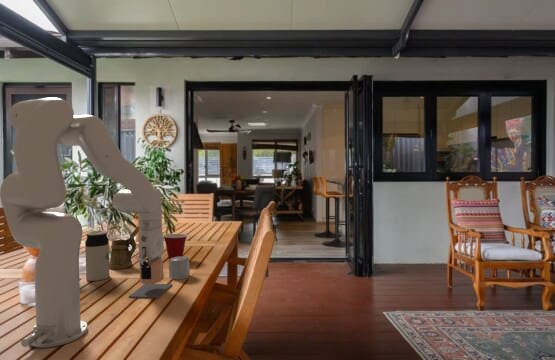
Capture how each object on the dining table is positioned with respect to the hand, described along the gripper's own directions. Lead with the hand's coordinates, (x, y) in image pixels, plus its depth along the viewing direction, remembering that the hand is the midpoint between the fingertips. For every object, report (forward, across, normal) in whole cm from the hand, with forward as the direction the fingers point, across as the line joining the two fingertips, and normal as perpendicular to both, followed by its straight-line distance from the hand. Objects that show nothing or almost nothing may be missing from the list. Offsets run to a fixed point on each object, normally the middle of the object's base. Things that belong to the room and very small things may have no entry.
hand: (151, 274), depth 116 cm
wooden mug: (+6, +27, +24) cm, 37 cm away
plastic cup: (+6, +38, +6) cm, 39 cm away
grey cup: (+6, +16, -4) cm, 17 cm away
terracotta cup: (+2, 0, 0) cm, 2 cm away
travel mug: (+6, +12, +27) cm, 30 cm away
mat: (+6, 0, 0) cm, 6 cm away
